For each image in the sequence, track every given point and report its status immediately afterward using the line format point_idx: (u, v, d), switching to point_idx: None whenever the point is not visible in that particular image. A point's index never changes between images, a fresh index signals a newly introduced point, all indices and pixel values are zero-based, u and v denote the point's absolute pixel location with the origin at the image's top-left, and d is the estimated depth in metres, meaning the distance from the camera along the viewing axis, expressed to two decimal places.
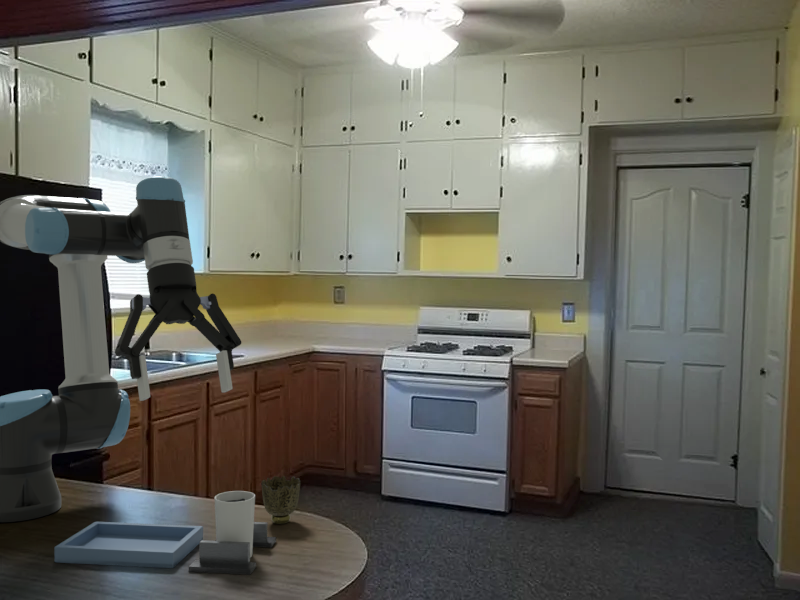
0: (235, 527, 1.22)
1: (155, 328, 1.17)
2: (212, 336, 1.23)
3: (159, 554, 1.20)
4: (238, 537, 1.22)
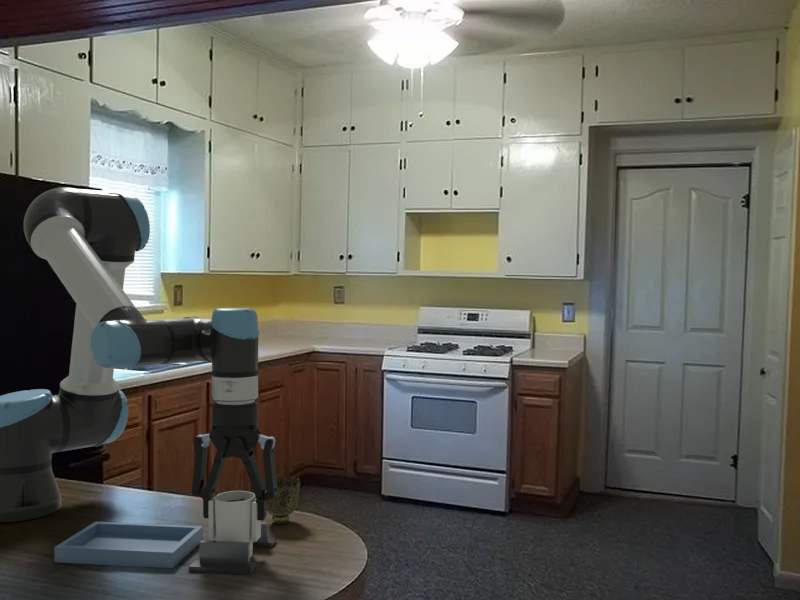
0: (235, 527, 1.22)
1: (217, 469, 1.24)
2: None
3: (159, 554, 1.20)
4: (238, 537, 1.22)
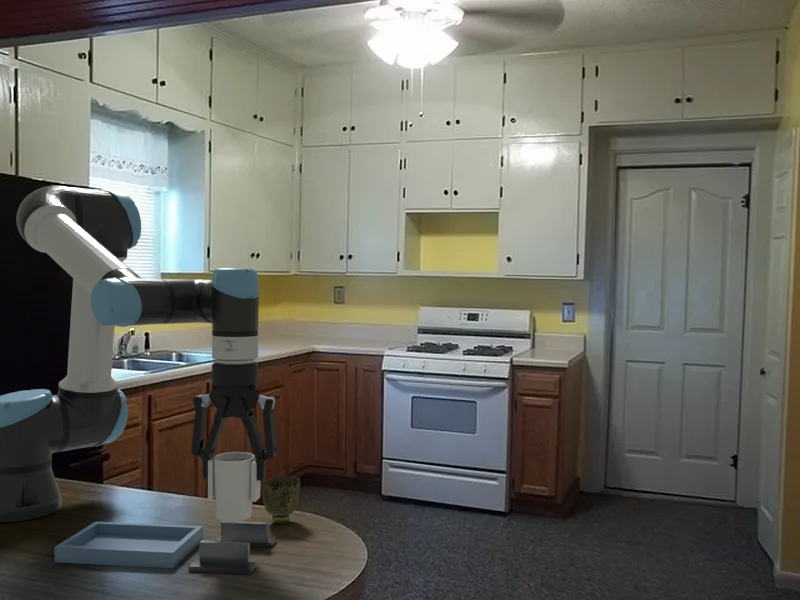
0: (234, 486, 1.22)
1: (216, 429, 1.24)
2: None
3: (159, 554, 1.20)
4: (237, 497, 1.22)
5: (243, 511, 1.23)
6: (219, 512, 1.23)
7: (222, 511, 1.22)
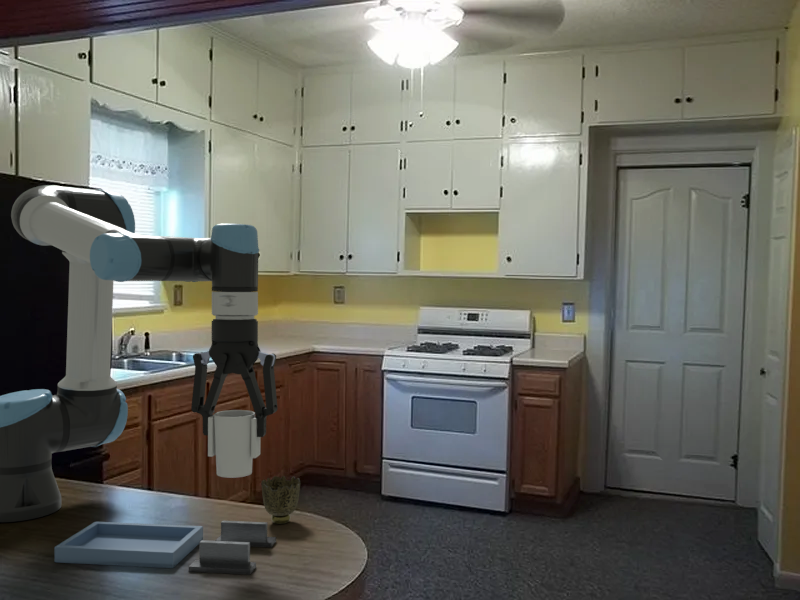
0: (235, 442, 1.22)
1: (216, 385, 1.23)
2: None
3: (159, 554, 1.20)
4: (237, 453, 1.22)
5: (243, 467, 1.23)
6: (219, 468, 1.23)
7: (222, 467, 1.22)
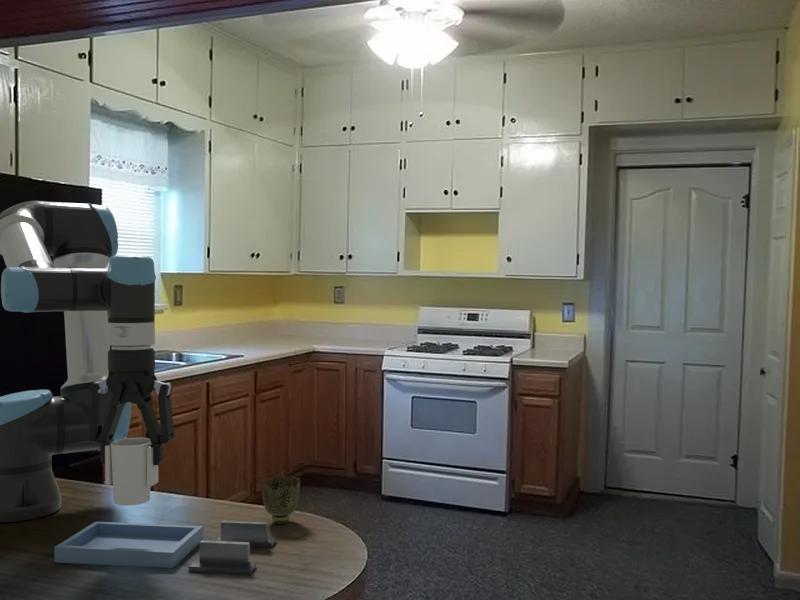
0: (129, 471, 1.23)
1: (113, 415, 1.25)
2: None
3: (159, 554, 1.20)
4: (132, 481, 1.24)
5: (139, 495, 1.24)
6: (115, 496, 1.24)
7: (118, 495, 1.24)
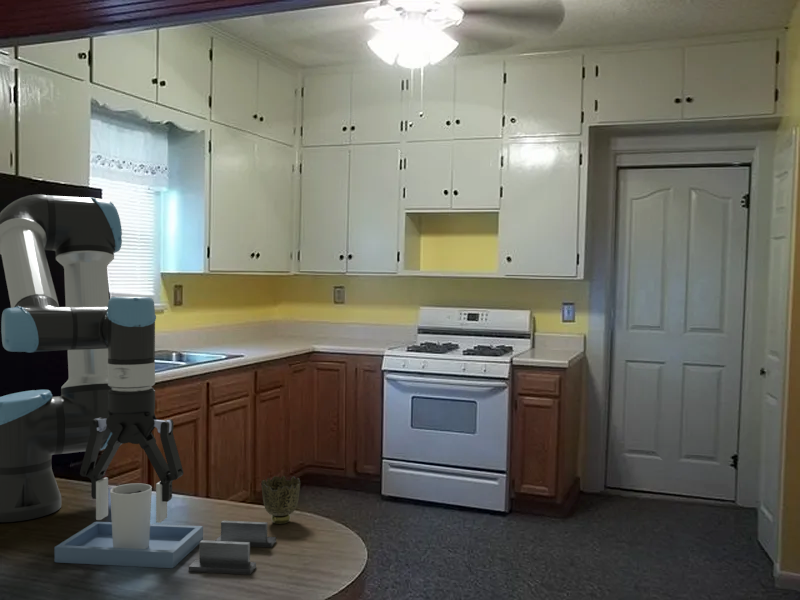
0: (129, 519, 1.24)
1: (108, 453, 1.26)
2: None
3: (159, 554, 1.20)
4: (132, 529, 1.24)
5: (138, 543, 1.25)
6: (115, 544, 1.25)
7: (117, 543, 1.24)
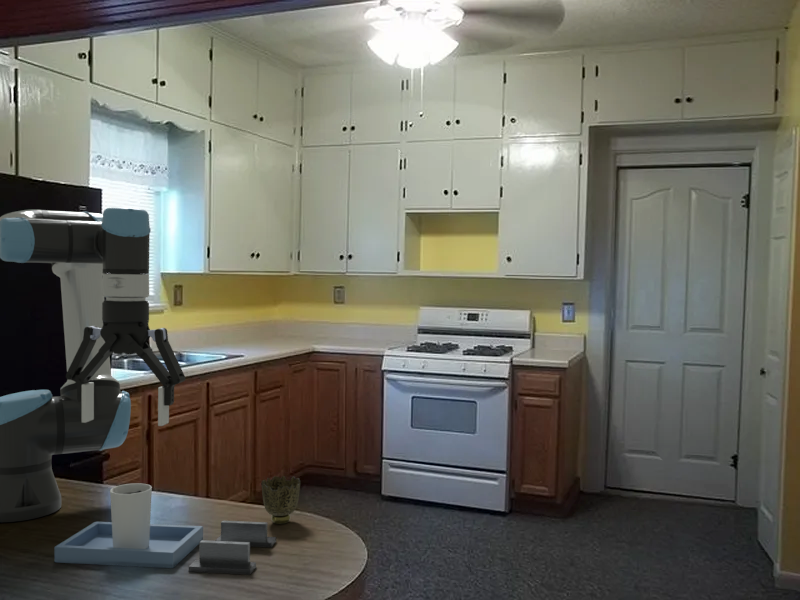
0: (129, 519, 1.24)
1: (98, 360, 1.27)
2: None
3: (159, 554, 1.20)
4: (132, 529, 1.24)
5: (138, 543, 1.25)
6: (115, 544, 1.25)
7: (117, 543, 1.24)
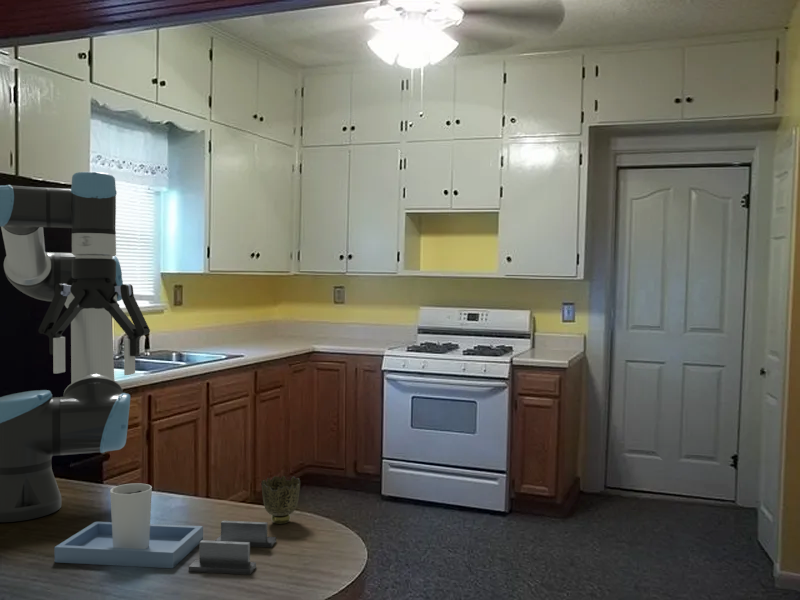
0: (129, 519, 1.24)
1: (68, 314, 1.36)
2: None
3: (159, 554, 1.20)
4: (132, 529, 1.24)
5: (138, 543, 1.25)
6: (115, 544, 1.25)
7: (117, 543, 1.24)
